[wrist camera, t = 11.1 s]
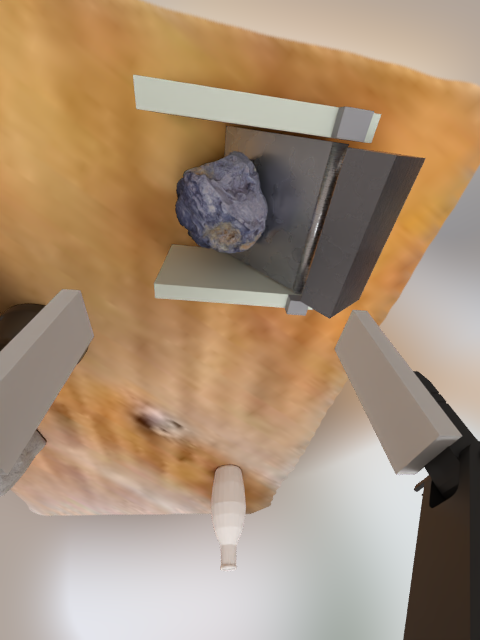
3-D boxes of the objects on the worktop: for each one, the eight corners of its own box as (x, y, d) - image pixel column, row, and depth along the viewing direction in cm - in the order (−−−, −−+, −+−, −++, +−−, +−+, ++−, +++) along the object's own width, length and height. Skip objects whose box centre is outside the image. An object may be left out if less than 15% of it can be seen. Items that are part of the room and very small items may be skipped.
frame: (172, 256, 41) (152, 304, 30) (165, 91, 29) (127, 71, 18) (292, 267, 43) (315, 316, 32) (332, 117, 31) (389, 113, 20)
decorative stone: (13, 422, 68) (-32, 486, 56) (38, 424, 68) (-2, 486, 57) (26, 443, 74) (-12, 503, 62) (49, 444, 75) (15, 504, 63)
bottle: (217, 478, 94) (215, 574, 74) (208, 465, 88) (202, 567, 67) (247, 474, 93) (252, 570, 73) (239, 460, 86) (243, 563, 66)
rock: (187, 184, 35) (146, 187, 27) (253, 143, 31) (229, 132, 23) (221, 256, 39) (195, 278, 31) (285, 228, 35) (274, 246, 26)
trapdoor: (243, 242, 43) (210, 250, 39) (257, 130, 34) (215, 124, 30) (358, 300, 32) (328, 320, 28) (426, 155, 23) (398, 152, 18)
